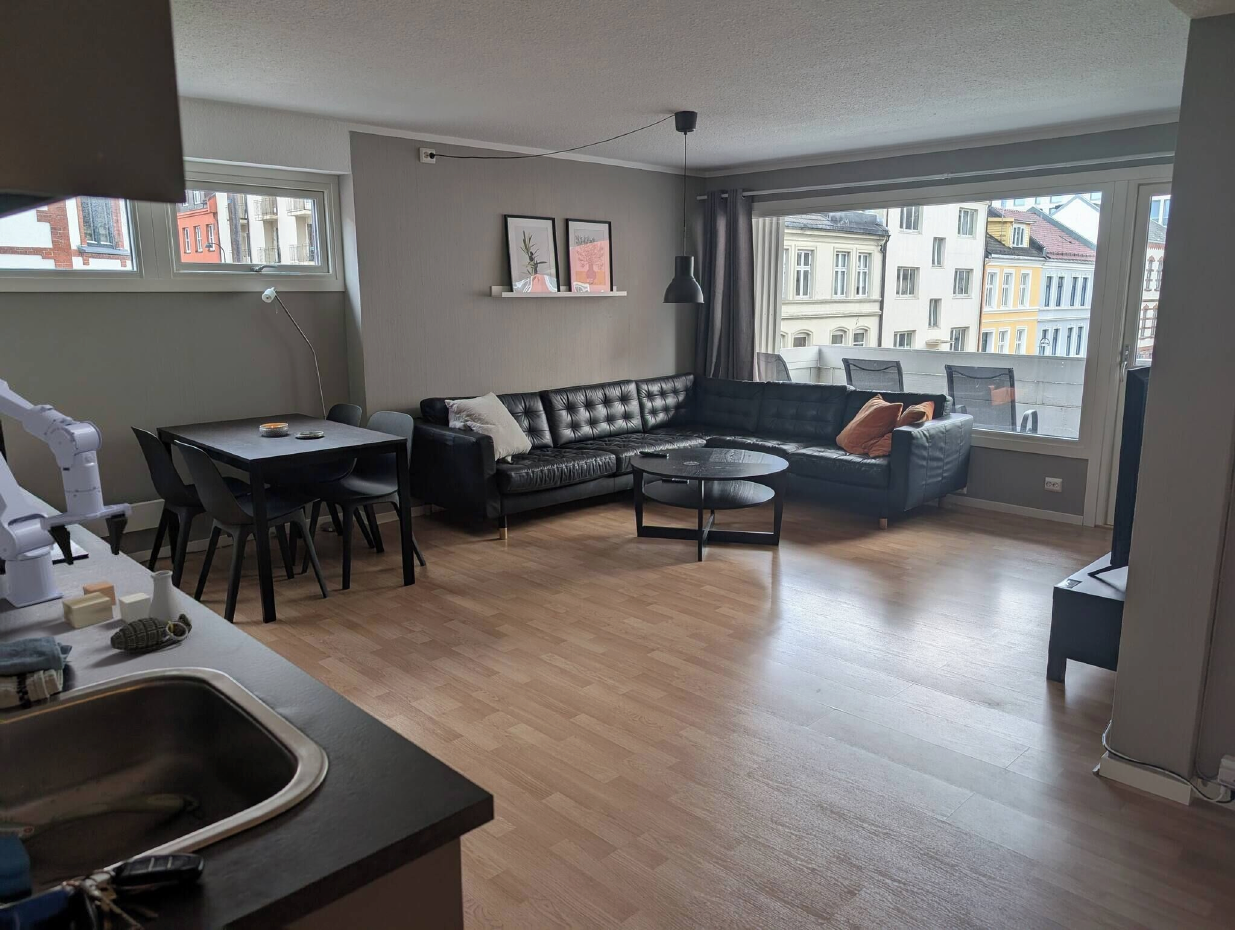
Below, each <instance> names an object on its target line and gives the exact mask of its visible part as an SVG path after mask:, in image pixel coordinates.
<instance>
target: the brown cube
mask: <svg viewBox="0 0 1235 930" xmlns="http://www.w3.org/2000/svg"><path fill="white" fill-rule="evenodd" d="M82 590H83V596H84V595H88V594H92V593H96V592H100V593H101V594H103V595H105V596H106V597H108V598H110V599H111V605H114V606H117V600H116V593H115V587H114V584H112V583H110V582H109V581H107V580H104V581H100V582H96V583H92V584H87V585H84V586H82Z"/></svg>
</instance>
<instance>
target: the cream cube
mask: <svg viewBox="0 0 1235 930" xmlns="http://www.w3.org/2000/svg"><path fill="white" fill-rule="evenodd" d="M151 603H152V599H151V596H149V595H148V594H146V593H144V592H142V591H140V592H138V593H134V594H133V593H132V594H130V595H126V596H122V597H121V596H120V597H119V598H118V604H119V605H118V606H119V612H120V618H121V619H122V620H123V621H124V622H126V623H127V624H129V623H131V622H133V621H137V620H138V619H143V618H148V614H149V611H150V607H151Z"/></svg>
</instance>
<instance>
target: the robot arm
mask: <svg viewBox="0 0 1235 930" xmlns="http://www.w3.org/2000/svg"><path fill="white" fill-rule="evenodd" d="M0 413H1V414H4V415H7V416H9V417H11V418H13V419H16V420H18V421H20V422H22V428H23V429H24V431H26V432H27V433H28V434H30V435H32V436H34V437H36V438H38V439H39V440H42V441H43V442H45V443H46V444H48V446H49V449H50V450H51V452H52V454H54V457H55V460H56V464H57V465H58V467H60V469H61V476H62V482H63V489H64V497H65V502H66V510H67V511H66V512H62V513H58V514H55V515H50V516H48V514H47V513H46V511H45V509H44V508H43V507H42V506H39V505H36V504H34V503H30V502H28V501H27V500H26V498H25V496H24V494H23V492H22V491H21V489H20V486H19V484H18V482H17V480H16V479H15V477H14V475H13V473H12V471H11V469H10V468H9V466H8V464H7V461H6V460H5V458H4V456H3V454H2V451H0V558H1V560H4V561H5V564H4V570H5V576H6V580H7V587H8V593H5V594H3V597H4V599H6V600H7V601H8V602H9V603H11V604H12V605H13V606H15V608H22V607H26V606H29V605H30V606H31V605H35V604H38V603H42V602H47V601H51V600H54V599H60V598H64V597H65V593H64V592H62V591H61V590H59V589H57V585H56V578H55V571H54V570H55V569H54V566H53V559H52V551H54V550H55V548H54V545H56V544H57V546H58V548H59V550H60V551H61V553H62V556H63V558H64V561H65V564H67V565H68V566H74V564H75V562H74V557H73V552H72V545H71V544H72V542H71V531H70V530H68V528H67V527H68V526H72V525H77V524H83V523H88V522H93V521H99V520H105V523H106V526H107V531H108V537H109V546H110V552H111V554H112V555H114V556H119V555H120V548H121V543H122V538H123V534H124V531H125V529H126V527H127V525H128V520H129V519H128V517H127V516H131V515H132V507H131V504H129V503H127V502H126V503H121V504H119V503H118V504H111V505H104V501H103V494H102V487H101V486H102V485H101V480H100V470H99V464H98V457H97V452H98V451H99V450H100V448H101V446H102V445H103V444H102V443H103V439H102V434H101V431H100V429H99V428H98V427H97V426H96V425H95V424H94V423H93V422H91V421H89V420H87V421H85V420H84V421H81V422H80V421H75V420H73V417H70V416H66V415H64V414H62V413H60V412H59V411H58V410H55V409H54V406H52V405H50V404H39V405H34V404H32V403H30V402H29V401H28V400H26V399H25V398H23V397H22V396H20V395H19V394H17V393H15V392H14V391H13V390H11V389H10V387H9V384H8V382H7V381H6V380H4V379H1V378H0Z"/></svg>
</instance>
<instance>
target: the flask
mask: <svg viewBox="0 0 1235 930" xmlns="http://www.w3.org/2000/svg"><path fill="white" fill-rule="evenodd" d="M172 575H173V571H171V570H158V571H155V572H153V573H152V574H150V578H151V579H152V581H153V582H152V583H153V596H152V599H151V607H150V611H149V614H148V618H149V617H155V618H158V620H164V621H169V622H171V621H177V620H178V618H179V616H180V614H185V615H186V616H187V618H188V619H189V621H190V623H192V621H193V619H192V618H191V616H190V614H189V613H188V611H187V610H186V608H185V606H184V605H183V604H182V602H181V599H180V598H179V596H178V594H177V592H176V590H175V588H174V585H173V582H172Z"/></svg>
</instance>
